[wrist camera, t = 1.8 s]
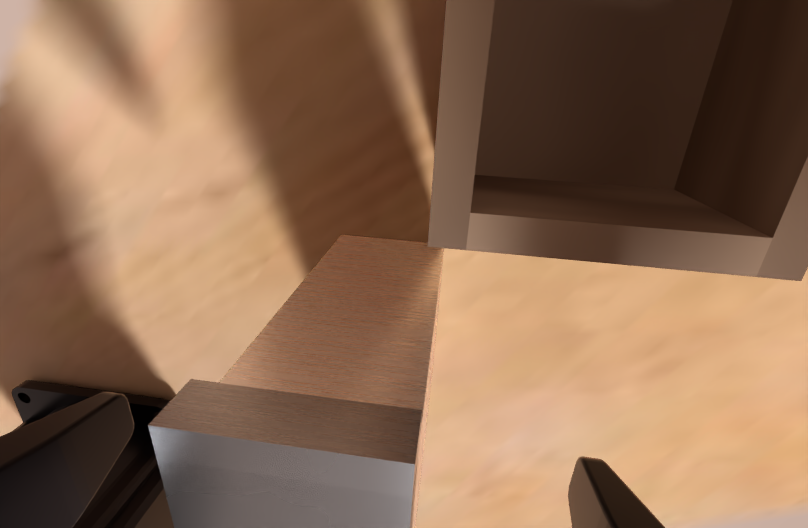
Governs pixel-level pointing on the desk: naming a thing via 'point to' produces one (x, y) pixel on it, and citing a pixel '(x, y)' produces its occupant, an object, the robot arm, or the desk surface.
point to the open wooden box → (626, 133)
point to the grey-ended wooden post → (315, 403)
